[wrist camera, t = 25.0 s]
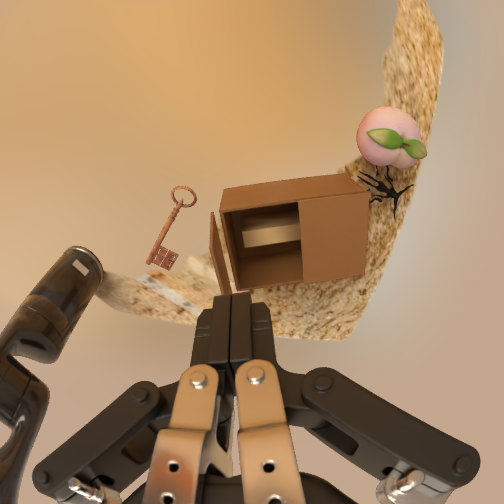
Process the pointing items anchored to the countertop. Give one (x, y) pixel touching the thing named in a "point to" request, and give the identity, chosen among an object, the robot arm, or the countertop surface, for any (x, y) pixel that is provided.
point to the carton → (271, 255)
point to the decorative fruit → (390, 138)
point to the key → (163, 233)
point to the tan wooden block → (271, 228)
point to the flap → (333, 236)
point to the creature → (385, 189)
